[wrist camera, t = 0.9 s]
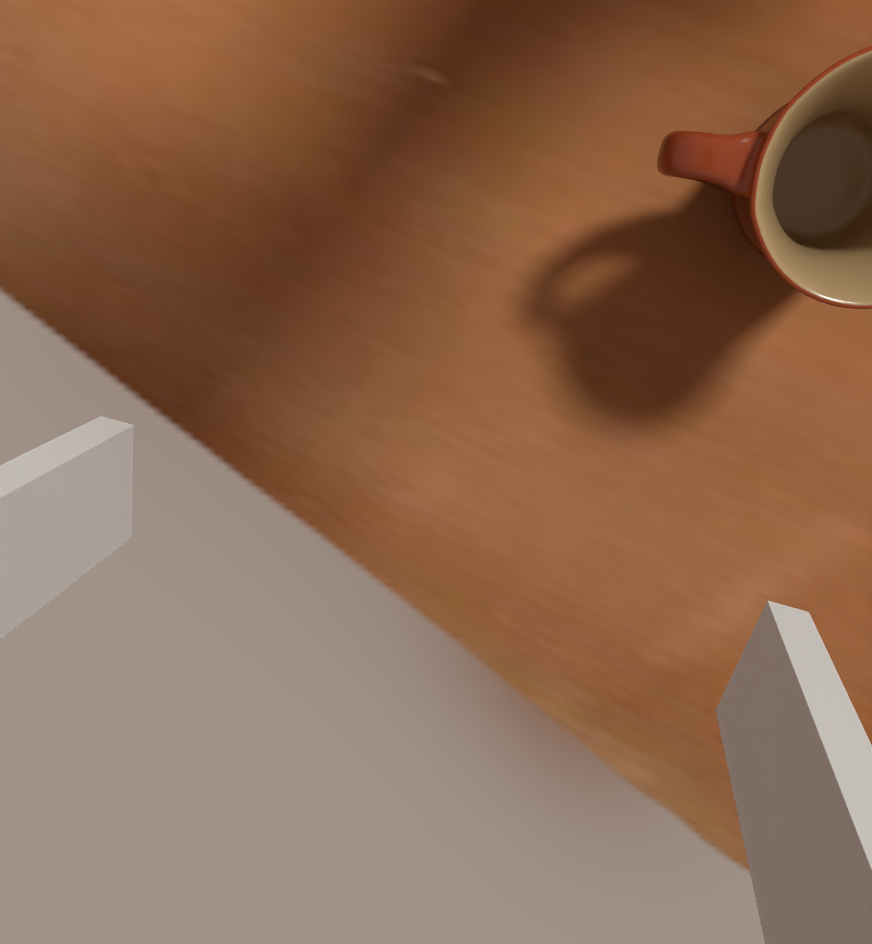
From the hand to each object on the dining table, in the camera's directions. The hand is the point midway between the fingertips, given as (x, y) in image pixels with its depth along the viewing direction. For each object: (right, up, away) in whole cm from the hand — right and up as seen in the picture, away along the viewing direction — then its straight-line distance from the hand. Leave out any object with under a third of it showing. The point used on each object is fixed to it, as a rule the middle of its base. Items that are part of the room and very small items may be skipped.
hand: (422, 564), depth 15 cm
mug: (+17, +16, +20) cm, 31 cm away
